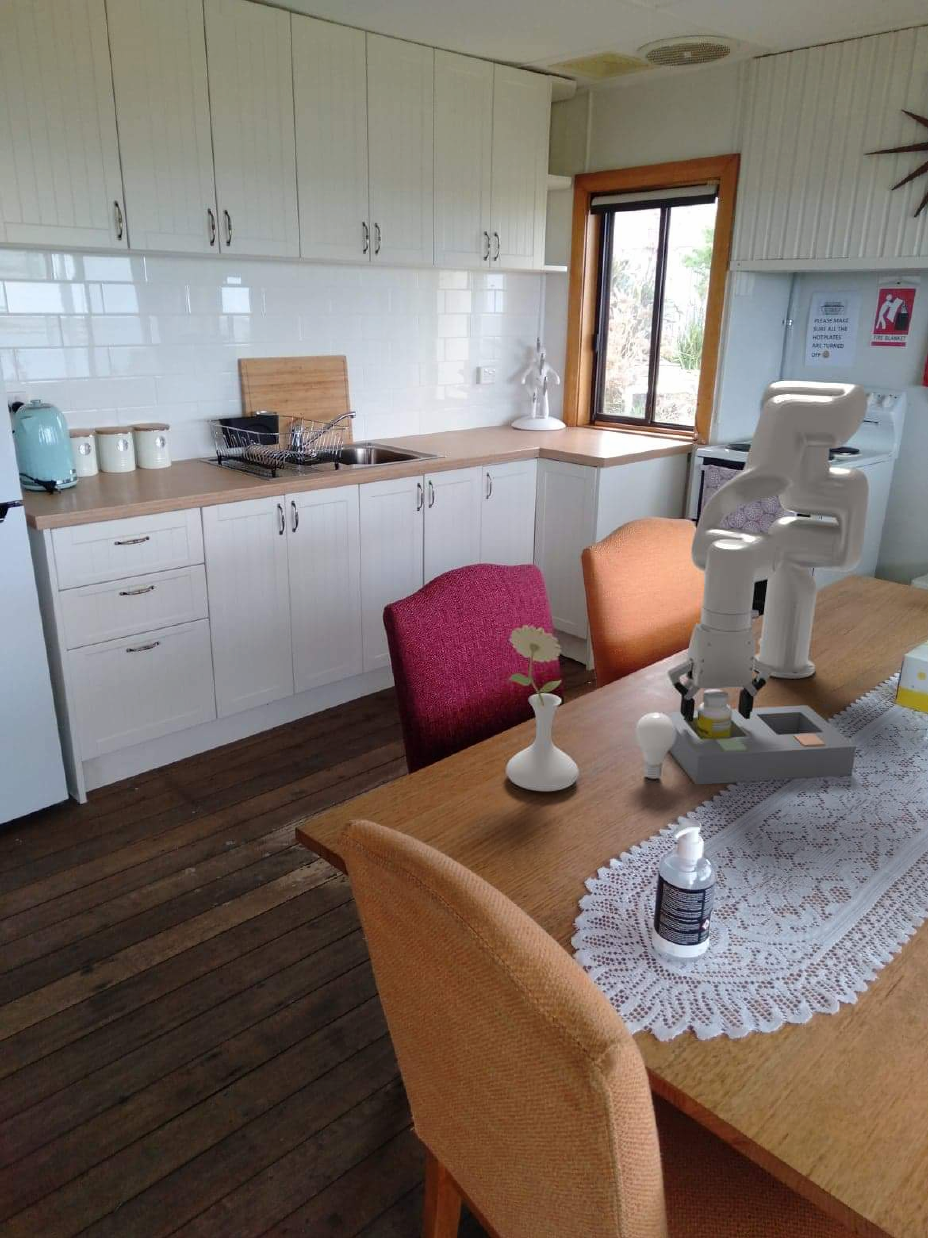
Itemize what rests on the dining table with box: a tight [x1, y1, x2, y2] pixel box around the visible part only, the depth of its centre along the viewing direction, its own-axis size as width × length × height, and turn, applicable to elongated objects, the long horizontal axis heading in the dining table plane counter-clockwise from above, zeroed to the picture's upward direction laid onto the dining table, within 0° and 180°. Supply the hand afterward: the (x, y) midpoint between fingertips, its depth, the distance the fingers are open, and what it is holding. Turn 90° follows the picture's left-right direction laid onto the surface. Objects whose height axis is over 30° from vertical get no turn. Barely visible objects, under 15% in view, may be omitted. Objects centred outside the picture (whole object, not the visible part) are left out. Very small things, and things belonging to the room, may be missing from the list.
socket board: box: [662, 704, 857, 786], centre depth 153 cm, size 16×26×5 cm, turn 98°
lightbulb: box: [634, 711, 677, 780], centre depth 145 cm, size 6×6×11 cm
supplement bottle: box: [696, 688, 733, 739], centre depth 152 cm, size 5×5×10 cm
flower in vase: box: [505, 624, 580, 792], centre depth 142 cm, size 13×11×25 cm
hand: (715, 717), depth 152 cm, fingers open, 9 cm apart
